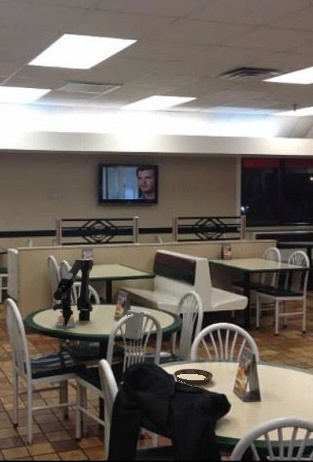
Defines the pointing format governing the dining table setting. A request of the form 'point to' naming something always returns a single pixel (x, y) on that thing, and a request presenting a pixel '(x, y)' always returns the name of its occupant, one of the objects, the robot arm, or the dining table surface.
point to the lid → (62, 325)
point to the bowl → (60, 319)
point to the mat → (63, 328)
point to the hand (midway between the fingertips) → (65, 323)
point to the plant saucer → (194, 371)
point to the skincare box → (134, 325)
